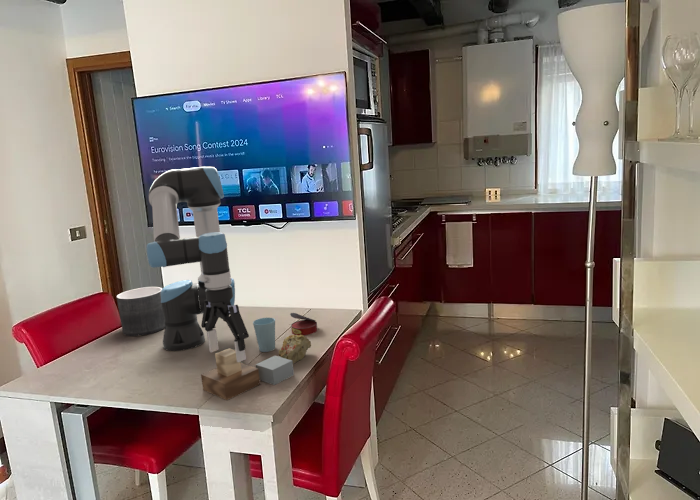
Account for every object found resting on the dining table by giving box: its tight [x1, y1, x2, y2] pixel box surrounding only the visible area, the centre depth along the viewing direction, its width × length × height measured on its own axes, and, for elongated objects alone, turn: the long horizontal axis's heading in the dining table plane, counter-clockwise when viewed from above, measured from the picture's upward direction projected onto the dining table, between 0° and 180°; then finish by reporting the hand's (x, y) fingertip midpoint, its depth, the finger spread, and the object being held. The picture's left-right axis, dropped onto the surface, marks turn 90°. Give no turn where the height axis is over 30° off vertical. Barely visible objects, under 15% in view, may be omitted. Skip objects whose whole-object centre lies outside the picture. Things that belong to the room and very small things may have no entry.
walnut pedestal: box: [200, 362, 261, 401], centre depth 159 cm, size 12×12×5 cm
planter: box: [116, 286, 165, 337], centre depth 221 cm, size 18×18×16 cm
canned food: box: [289, 312, 318, 336], centre depth 203 cm, size 11×10×10 cm
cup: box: [252, 317, 276, 353], centre depth 187 cm, size 8×8×10 cm
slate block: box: [254, 355, 295, 386], centre depth 163 cm, size 8×8×5 cm
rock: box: [278, 334, 312, 365], centre depth 177 cm, size 12×9×10 cm
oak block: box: [214, 348, 242, 377], centre depth 157 cm, size 5×5×6 cm
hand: (227, 355), depth 158 cm, fingers open, 13 cm apart
